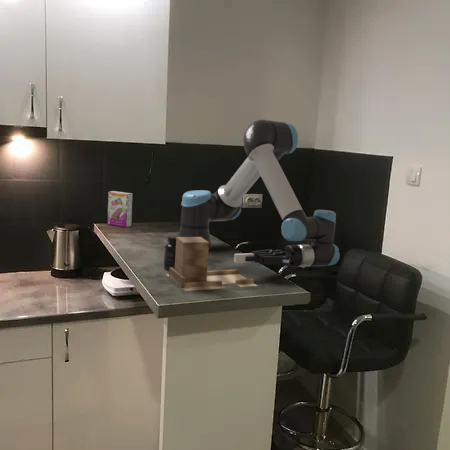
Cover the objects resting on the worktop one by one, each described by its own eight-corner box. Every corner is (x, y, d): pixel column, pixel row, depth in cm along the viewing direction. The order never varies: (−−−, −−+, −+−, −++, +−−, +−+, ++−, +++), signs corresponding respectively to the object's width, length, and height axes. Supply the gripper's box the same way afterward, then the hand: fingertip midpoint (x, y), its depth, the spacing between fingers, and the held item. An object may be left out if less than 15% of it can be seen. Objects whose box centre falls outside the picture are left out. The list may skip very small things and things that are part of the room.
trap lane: (232, 273, 170) (233, 262, 170) (257, 288, 154) (258, 276, 154) (165, 277, 160) (166, 265, 160) (185, 294, 144) (186, 280, 144)
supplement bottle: (163, 268, 171) (165, 233, 169) (183, 269, 172) (185, 235, 170) (162, 273, 164) (164, 237, 162) (183, 274, 165) (185, 239, 163)
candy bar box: (106, 224, 243) (107, 191, 241) (112, 223, 248) (113, 190, 245) (126, 227, 239) (127, 193, 237) (131, 226, 244) (133, 193, 241)
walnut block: (198, 276, 160) (200, 236, 158) (206, 283, 153) (209, 242, 150) (174, 277, 157) (176, 237, 155) (181, 284, 150) (183, 242, 148)
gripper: (307, 271, 164) (243, 275, 154) (286, 261, 176) (225, 264, 166) (309, 249, 163) (245, 251, 153) (288, 241, 175) (227, 242, 165)
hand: (235, 258), depth 160 cm, fingers closed
